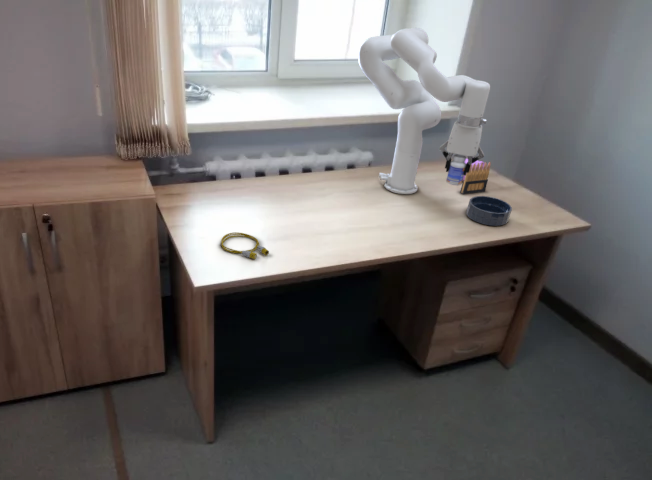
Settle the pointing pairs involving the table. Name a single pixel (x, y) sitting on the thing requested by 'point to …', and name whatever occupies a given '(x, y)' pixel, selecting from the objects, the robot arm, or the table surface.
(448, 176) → the pill bottle
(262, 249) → the extension cord
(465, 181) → the ammunition clip
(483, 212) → the bowl
